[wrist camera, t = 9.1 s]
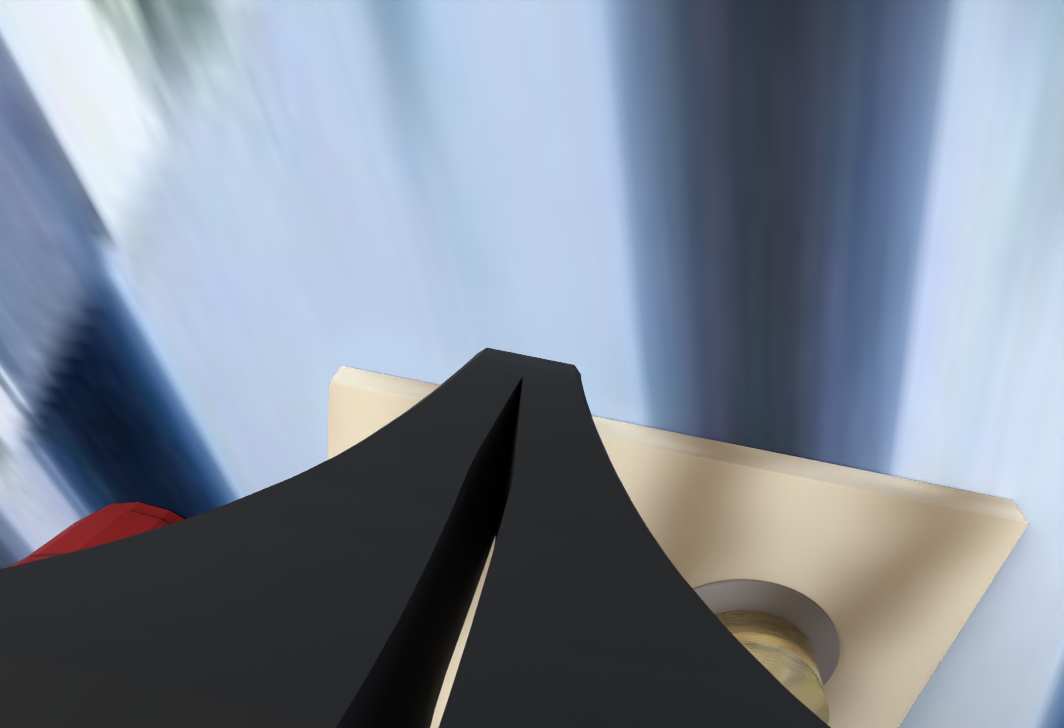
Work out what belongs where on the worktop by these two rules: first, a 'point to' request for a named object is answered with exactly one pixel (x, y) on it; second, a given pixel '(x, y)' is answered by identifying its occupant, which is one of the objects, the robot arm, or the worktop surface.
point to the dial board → (782, 545)
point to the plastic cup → (105, 528)
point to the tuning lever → (781, 654)
